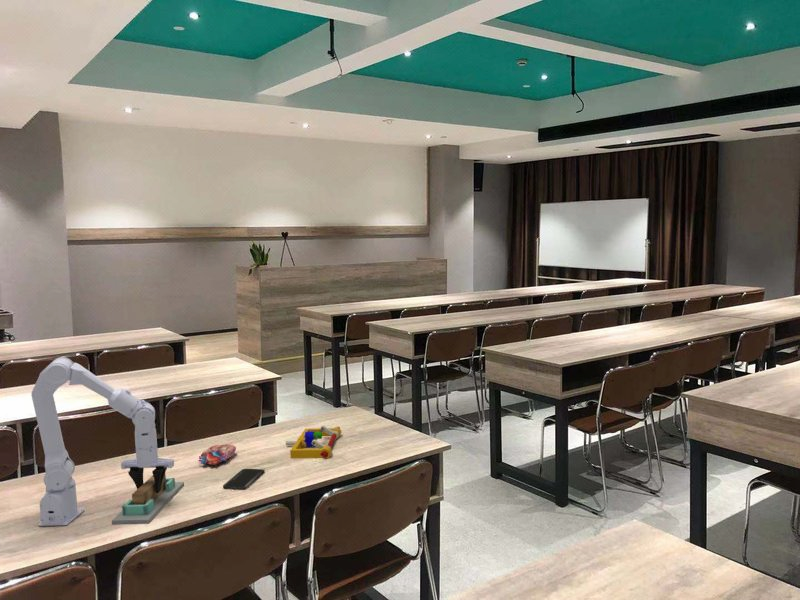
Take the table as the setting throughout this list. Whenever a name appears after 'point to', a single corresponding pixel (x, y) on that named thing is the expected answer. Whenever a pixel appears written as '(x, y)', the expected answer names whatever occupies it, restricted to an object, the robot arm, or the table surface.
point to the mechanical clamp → (314, 443)
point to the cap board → (147, 506)
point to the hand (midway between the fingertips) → (149, 491)
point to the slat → (147, 492)
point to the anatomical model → (217, 454)
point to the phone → (244, 479)
